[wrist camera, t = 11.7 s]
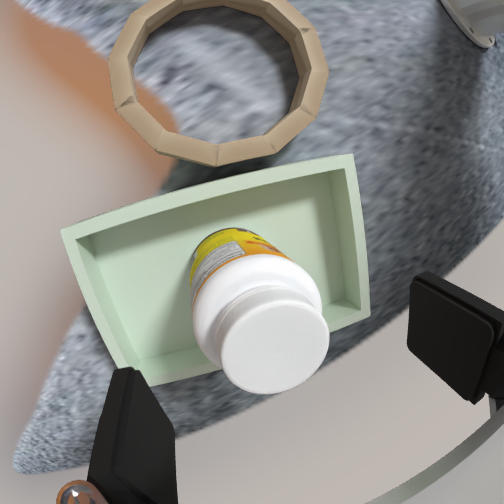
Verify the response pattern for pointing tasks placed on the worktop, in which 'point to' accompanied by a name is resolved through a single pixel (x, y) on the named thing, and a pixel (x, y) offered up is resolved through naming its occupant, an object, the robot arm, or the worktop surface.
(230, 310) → the supplement bottle
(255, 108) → the worktop surface
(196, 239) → the tray
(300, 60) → the collar
